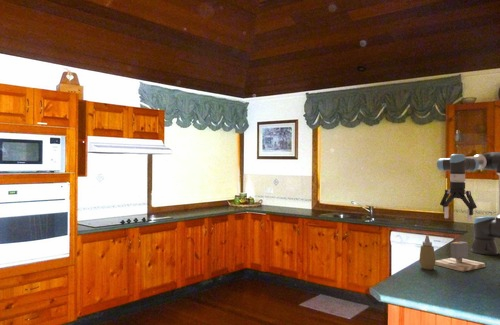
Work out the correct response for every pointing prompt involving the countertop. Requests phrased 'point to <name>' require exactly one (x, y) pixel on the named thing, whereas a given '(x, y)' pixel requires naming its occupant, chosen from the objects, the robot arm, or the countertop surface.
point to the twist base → (459, 264)
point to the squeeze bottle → (427, 255)
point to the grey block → (458, 250)
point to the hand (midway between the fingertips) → (457, 219)
